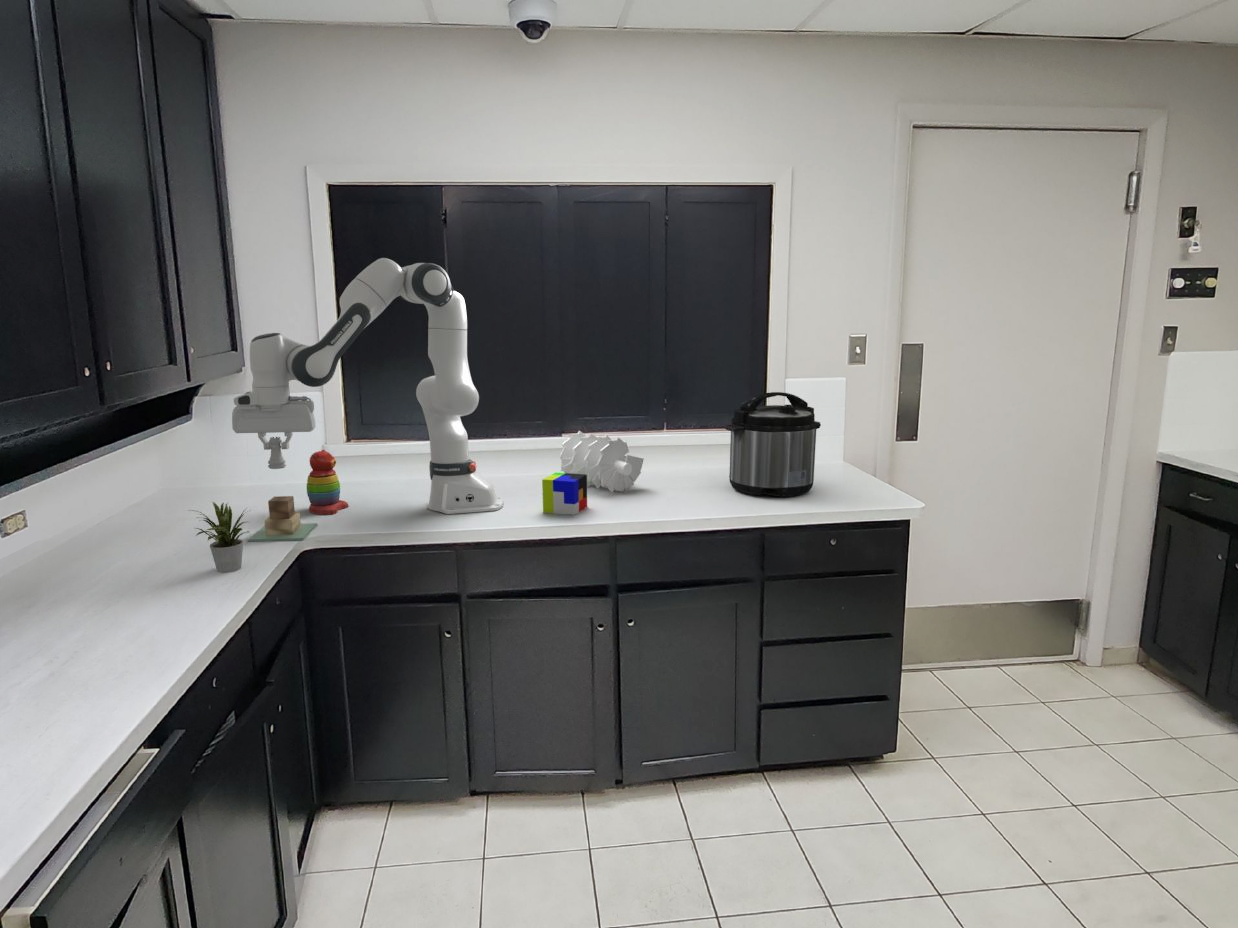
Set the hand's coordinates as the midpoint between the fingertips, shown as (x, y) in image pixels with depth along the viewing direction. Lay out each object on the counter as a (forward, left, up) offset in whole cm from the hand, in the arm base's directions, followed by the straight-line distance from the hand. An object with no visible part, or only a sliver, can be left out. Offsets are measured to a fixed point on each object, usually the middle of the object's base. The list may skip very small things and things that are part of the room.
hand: (276, 449), depth 215 cm
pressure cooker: (-143, -36, -23) cm, 149 cm away
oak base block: (0, 0, -22) cm, 23 cm away
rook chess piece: (0, 0, -5) cm, 5 cm away
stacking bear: (-5, -24, -23) cm, 34 cm away
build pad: (0, 0, -23) cm, 23 cm away
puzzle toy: (-76, -17, -23) cm, 81 cm away
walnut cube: (0, 0, -18) cm, 19 cm away
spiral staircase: (-88, -44, -23) cm, 101 cm away
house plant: (+5, +28, -23) cm, 37 cm away
